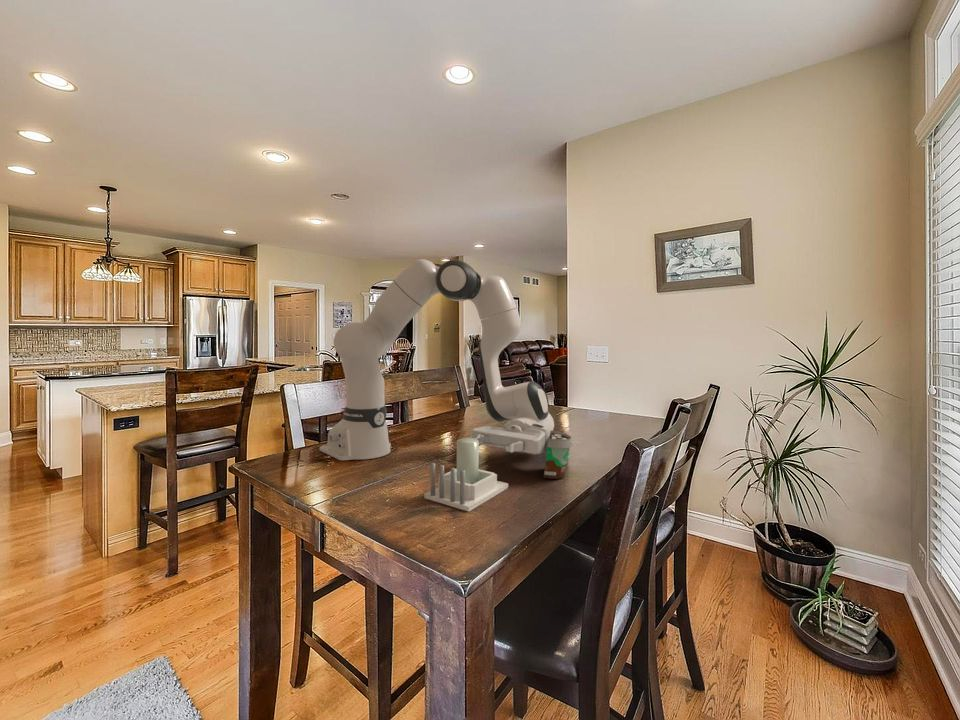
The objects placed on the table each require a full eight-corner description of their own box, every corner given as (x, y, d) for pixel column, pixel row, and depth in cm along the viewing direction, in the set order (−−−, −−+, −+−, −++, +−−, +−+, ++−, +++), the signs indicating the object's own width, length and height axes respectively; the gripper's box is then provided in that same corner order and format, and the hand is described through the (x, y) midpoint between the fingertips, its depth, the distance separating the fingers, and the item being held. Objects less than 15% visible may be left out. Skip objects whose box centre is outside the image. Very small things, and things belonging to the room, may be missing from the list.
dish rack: (424, 498, 91) (424, 462, 91) (467, 477, 105) (467, 446, 104) (468, 511, 85) (469, 473, 84) (508, 487, 98) (508, 454, 97)
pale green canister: (452, 489, 94) (452, 441, 93) (465, 482, 98) (465, 436, 97) (470, 494, 91) (470, 445, 90) (482, 487, 95) (483, 440, 95)
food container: (568, 483, 100) (573, 442, 100) (543, 479, 101) (548, 438, 101) (569, 470, 112) (573, 433, 112) (546, 466, 113) (550, 429, 113)
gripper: (487, 418, 119) (458, 427, 108) (553, 428, 108) (528, 439, 96) (487, 440, 120) (458, 451, 108) (552, 451, 108) (527, 465, 97)
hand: (491, 445), depth 102 cm, fingers open, 8 cm apart
